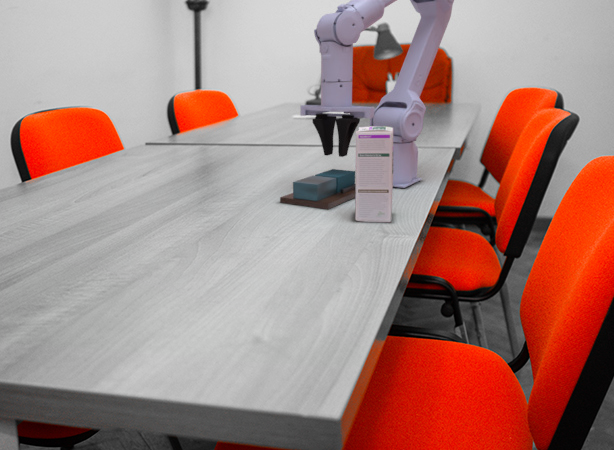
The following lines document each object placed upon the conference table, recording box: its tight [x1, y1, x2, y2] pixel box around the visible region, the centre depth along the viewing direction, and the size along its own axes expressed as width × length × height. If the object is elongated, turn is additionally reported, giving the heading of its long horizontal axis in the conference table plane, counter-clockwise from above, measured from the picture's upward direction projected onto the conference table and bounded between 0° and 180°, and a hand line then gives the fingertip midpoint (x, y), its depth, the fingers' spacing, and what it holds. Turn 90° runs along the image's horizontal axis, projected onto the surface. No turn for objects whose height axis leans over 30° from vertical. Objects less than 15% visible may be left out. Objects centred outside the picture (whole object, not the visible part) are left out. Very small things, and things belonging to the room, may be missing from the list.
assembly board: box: [279, 175, 356, 210], centre depth 107 cm, size 16×10×4 cm, turn 145°
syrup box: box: [354, 125, 394, 223], centre depth 91 cm, size 6×6×14 cm
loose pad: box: [314, 168, 356, 193], centre depth 110 cm, size 7×5×3 cm
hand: (335, 155), depth 109 cm, fingers open, 3 cm apart
